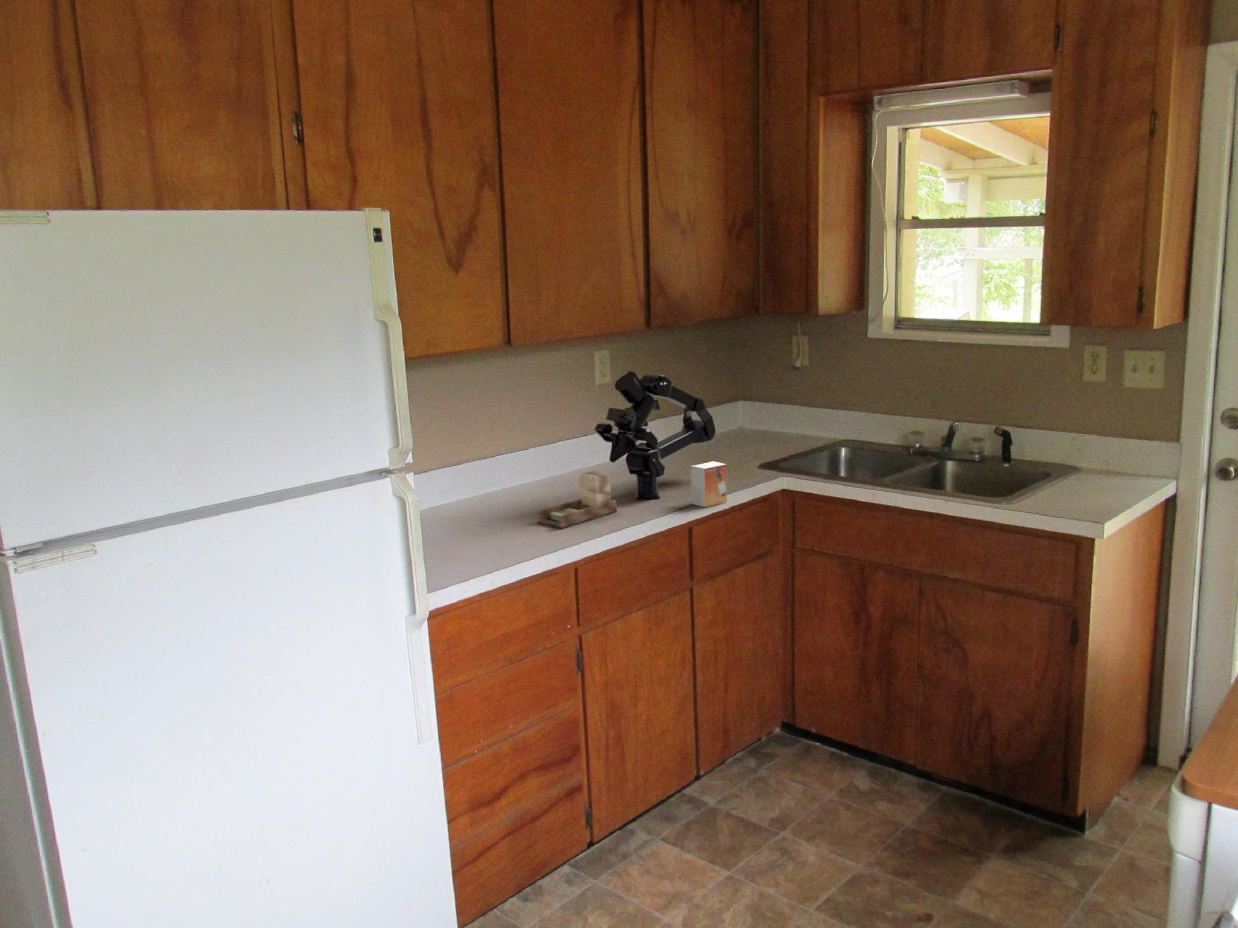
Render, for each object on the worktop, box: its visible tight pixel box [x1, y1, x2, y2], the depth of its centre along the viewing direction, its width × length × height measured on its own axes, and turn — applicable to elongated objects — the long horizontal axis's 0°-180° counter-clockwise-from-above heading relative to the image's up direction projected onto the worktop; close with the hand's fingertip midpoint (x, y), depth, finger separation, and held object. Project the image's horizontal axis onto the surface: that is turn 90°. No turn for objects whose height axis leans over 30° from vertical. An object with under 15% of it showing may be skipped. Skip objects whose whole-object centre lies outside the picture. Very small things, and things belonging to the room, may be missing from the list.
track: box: [536, 498, 618, 530], centre depth 266 cm, size 20×9×3 cm, turn 136°
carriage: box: [579, 470, 612, 506], centre depth 269 cm, size 5×6×8 cm
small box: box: [690, 460, 728, 508], centre depth 274 cm, size 8×6×10 cm
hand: (611, 461), depth 272 cm, fingers closed
